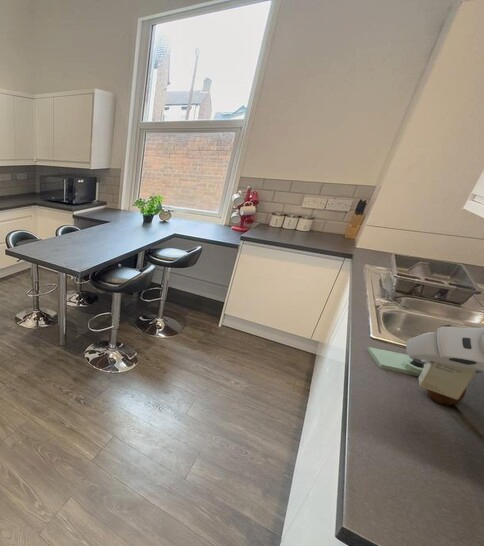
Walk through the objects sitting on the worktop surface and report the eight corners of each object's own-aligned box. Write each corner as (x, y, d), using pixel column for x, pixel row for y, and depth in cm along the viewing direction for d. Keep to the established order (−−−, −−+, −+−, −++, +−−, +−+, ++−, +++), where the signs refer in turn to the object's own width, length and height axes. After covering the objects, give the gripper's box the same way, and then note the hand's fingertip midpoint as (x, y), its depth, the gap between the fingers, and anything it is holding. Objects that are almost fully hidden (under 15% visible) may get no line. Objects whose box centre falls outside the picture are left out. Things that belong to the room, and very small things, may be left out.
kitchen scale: (410, 359, 99) (414, 351, 98) (429, 380, 90) (434, 372, 89) (367, 350, 103) (370, 342, 102) (381, 370, 94) (385, 361, 93)
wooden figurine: (420, 387, 87) (445, 343, 81) (450, 397, 84) (478, 351, 78) (427, 402, 82) (454, 355, 76) (459, 412, 79) (490, 365, 73)
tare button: (419, 364, 93) (422, 360, 92) (424, 369, 91) (426, 364, 90) (409, 362, 93) (411, 357, 93) (413, 366, 91) (415, 362, 91)
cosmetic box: (419, 387, 73) (442, 343, 68) (417, 377, 76) (440, 335, 71) (459, 400, 69) (487, 355, 64) (456, 390, 72) (483, 346, 67)
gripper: (585, 349, 55) (512, 362, 67) (431, 324, 63) (391, 339, 75) (594, 385, 53) (518, 392, 65) (434, 354, 61) (392, 365, 73)
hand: (449, 364), depth 70 cm, fingers closed on cosmetic box, 7 cm apart
